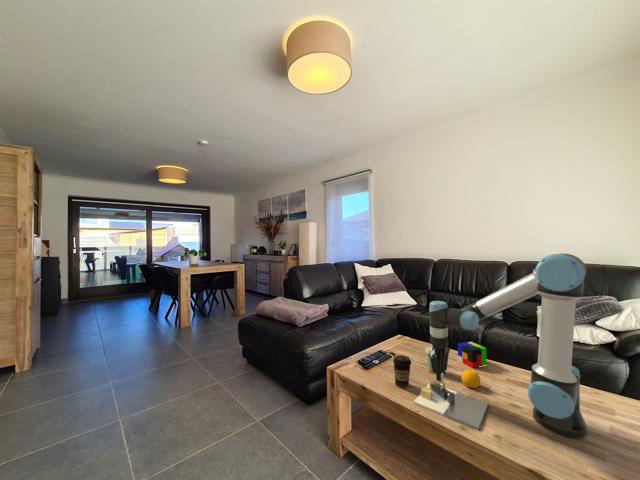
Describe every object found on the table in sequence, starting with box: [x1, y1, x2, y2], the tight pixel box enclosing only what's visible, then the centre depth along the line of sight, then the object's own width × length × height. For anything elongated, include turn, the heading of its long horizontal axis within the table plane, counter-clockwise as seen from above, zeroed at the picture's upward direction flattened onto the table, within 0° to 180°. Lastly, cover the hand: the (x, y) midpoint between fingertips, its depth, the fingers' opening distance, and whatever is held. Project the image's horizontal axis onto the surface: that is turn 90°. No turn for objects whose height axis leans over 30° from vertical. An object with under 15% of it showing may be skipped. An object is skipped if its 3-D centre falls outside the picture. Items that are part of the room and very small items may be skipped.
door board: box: [413, 382, 458, 417], centre depth 116 cm, size 12×20×4 cm, turn 139°
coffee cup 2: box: [425, 345, 436, 375], centre depth 140 cm, size 8×8×12 cm
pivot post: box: [447, 392, 455, 404], centre depth 112 cm, size 3×3×4 cm
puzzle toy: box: [457, 341, 488, 369], centre depth 150 cm, size 10×10×10 cm
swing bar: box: [429, 381, 450, 399], centre depth 118 cm, size 9×3×5 cm, turn 18°
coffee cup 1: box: [392, 354, 412, 389], centre depth 127 cm, size 9×8×13 cm
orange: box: [461, 368, 482, 389], centre depth 126 cm, size 8×8×8 cm
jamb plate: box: [443, 391, 489, 431], centre depth 108 cm, size 12×20×1 cm, turn 139°
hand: (440, 387), depth 121 cm, fingers closed
